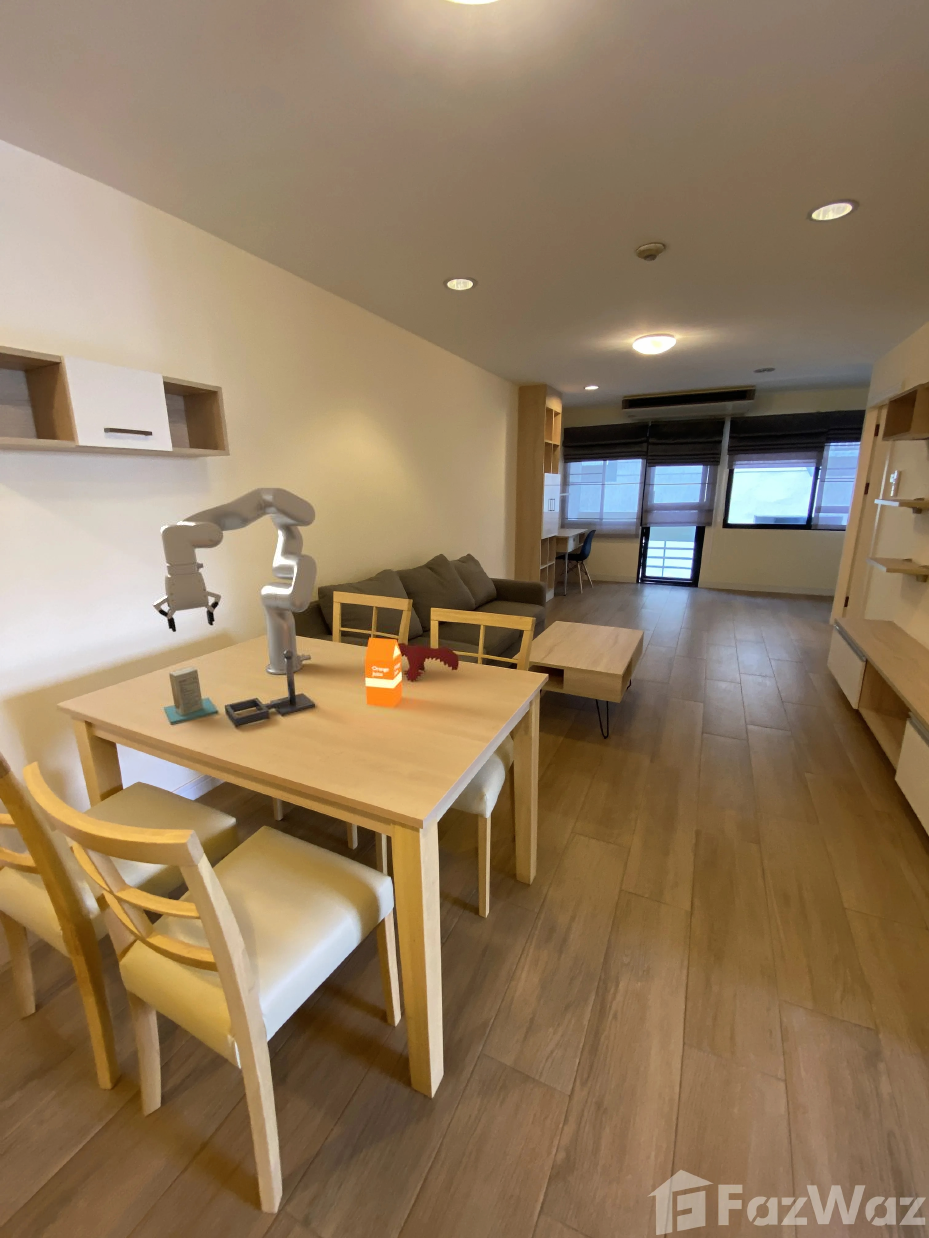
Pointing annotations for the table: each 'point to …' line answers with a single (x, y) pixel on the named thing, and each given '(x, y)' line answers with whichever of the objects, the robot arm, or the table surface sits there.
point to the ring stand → (280, 705)
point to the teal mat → (205, 711)
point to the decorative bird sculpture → (421, 653)
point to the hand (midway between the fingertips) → (192, 627)
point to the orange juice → (383, 672)
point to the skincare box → (186, 690)
